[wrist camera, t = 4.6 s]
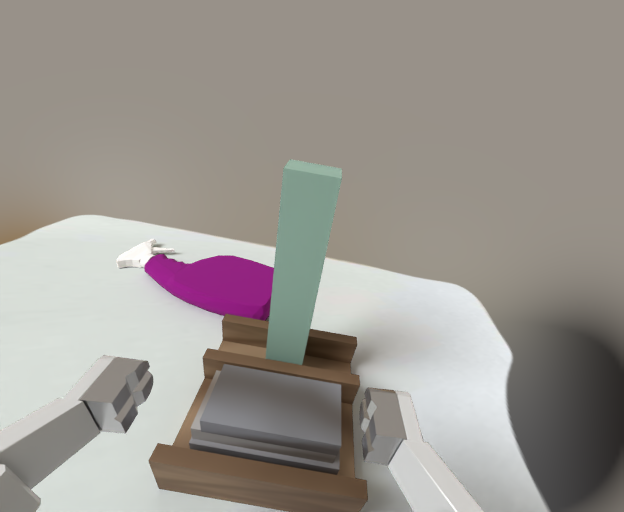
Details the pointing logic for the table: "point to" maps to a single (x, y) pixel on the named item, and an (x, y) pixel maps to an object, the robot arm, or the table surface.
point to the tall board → (300, 255)
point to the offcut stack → (270, 419)
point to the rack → (255, 474)
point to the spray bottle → (208, 280)
